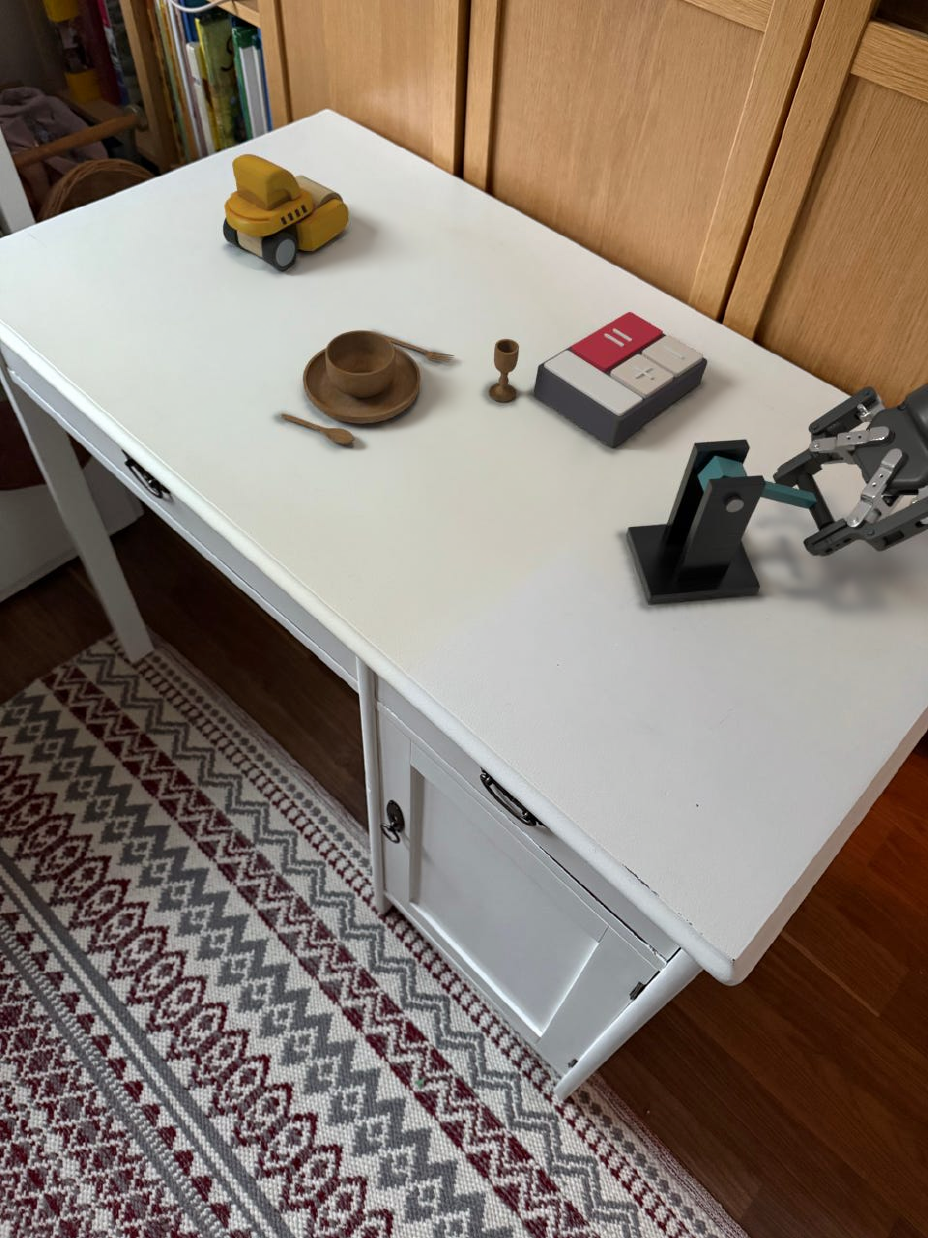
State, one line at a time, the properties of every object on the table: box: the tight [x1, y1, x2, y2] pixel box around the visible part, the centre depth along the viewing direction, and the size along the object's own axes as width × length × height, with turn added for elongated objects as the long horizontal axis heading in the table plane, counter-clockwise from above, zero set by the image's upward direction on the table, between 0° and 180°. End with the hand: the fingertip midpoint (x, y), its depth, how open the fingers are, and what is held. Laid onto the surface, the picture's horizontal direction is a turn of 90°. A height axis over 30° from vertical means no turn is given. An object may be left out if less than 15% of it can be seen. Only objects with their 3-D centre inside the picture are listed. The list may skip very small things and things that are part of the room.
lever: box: [698, 456, 836, 531], centre depth 75 cm, size 12×6×2 cm, turn 99°
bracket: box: [625, 438, 766, 605], centre depth 77 cm, size 10×8×13 cm
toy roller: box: [222, 153, 350, 271], centre depth 104 cm, size 9×14×10 cm, turn 142°
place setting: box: [280, 329, 520, 445], centre depth 90 cm, size 18×20×6 cm
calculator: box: [533, 311, 709, 448], centre depth 94 cm, size 11×4×15 cm
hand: (792, 515), depth 78 cm, fingers open, 7 cm apart
